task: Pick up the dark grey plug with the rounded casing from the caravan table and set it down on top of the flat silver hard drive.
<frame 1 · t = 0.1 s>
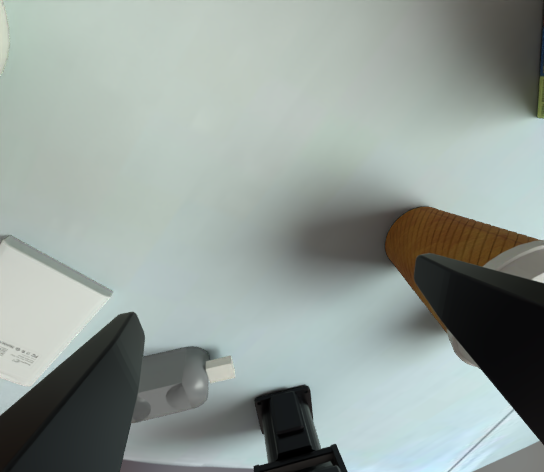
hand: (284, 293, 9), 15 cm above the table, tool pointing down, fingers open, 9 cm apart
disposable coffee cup: (414, 236, 27), on the table
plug: (165, 365, 29), on the table
external hard drive: (29, 310, 24), on the table
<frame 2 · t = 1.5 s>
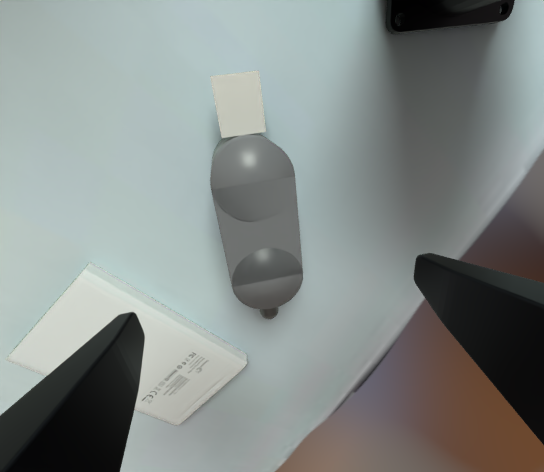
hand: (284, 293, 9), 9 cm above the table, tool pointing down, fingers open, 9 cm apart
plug: (251, 207, 17), on the table
external hard drive: (143, 344, 20), on the table
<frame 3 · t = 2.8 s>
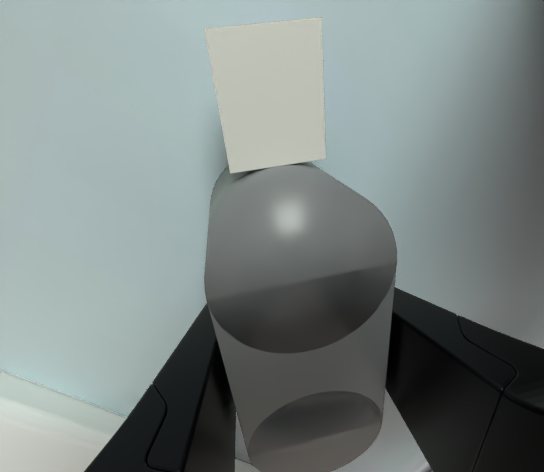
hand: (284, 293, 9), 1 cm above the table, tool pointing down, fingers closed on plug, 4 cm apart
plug: (278, 275, 10), on the table, touching gripper
external hard drive: (106, 462, 14), on the table
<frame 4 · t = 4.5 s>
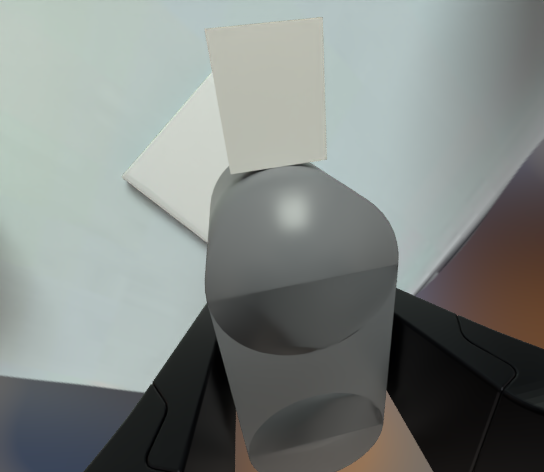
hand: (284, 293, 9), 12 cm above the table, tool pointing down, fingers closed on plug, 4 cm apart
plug: (278, 276, 10), point 11 cm above the table, touching gripper
external hard drive: (242, 191, 20), on the table
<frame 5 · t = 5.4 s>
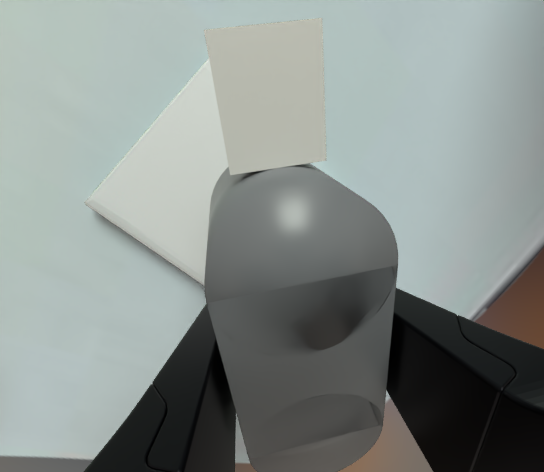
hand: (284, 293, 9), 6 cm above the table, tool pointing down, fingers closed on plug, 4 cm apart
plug: (278, 277, 10), point 5 cm above the table, touching gripper
external hard drive: (250, 217, 15), on the table
when the fingers open (4 cm above the table, at t = 6.1 s): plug drops 2 cm, resting on external hard drive.
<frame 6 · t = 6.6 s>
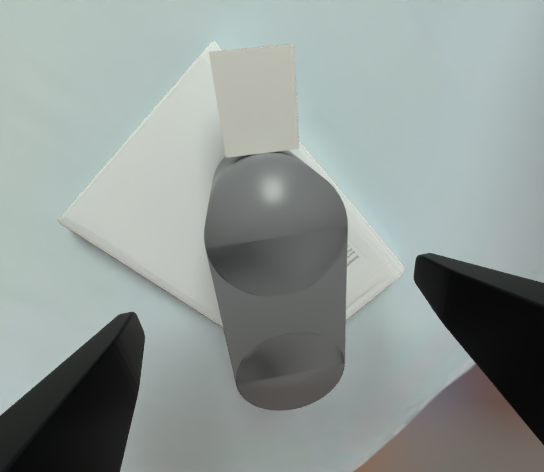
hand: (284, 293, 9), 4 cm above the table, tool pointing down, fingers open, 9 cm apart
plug: (267, 249, 12), point 1 cm above the table, touching external hard drive
external hard drive: (254, 233, 13), on the table, touching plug
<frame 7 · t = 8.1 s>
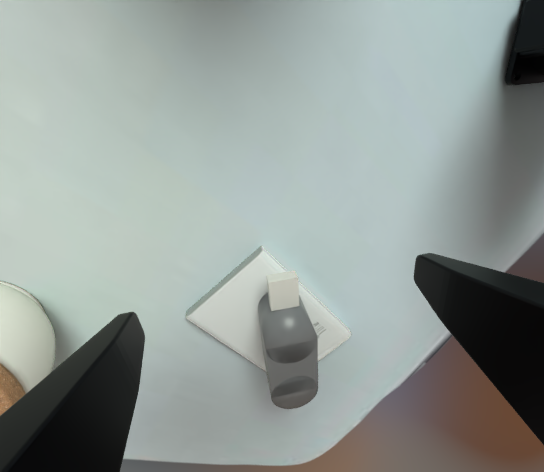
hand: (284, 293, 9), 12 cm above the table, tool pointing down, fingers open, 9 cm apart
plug: (281, 329, 24), point 1 cm above the table
external hard drive: (272, 314, 25), on the table
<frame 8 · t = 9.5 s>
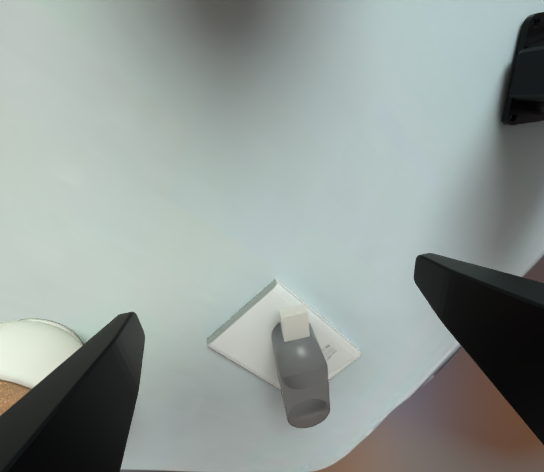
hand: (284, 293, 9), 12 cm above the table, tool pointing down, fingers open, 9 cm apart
lidded jar: (41, 347, 22), on the table
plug: (294, 353, 26), point 1 cm above the table, touching external hard drive
external hard drive: (285, 337, 27), on the table, touching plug
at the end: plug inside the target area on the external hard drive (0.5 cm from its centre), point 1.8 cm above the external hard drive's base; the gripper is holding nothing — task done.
